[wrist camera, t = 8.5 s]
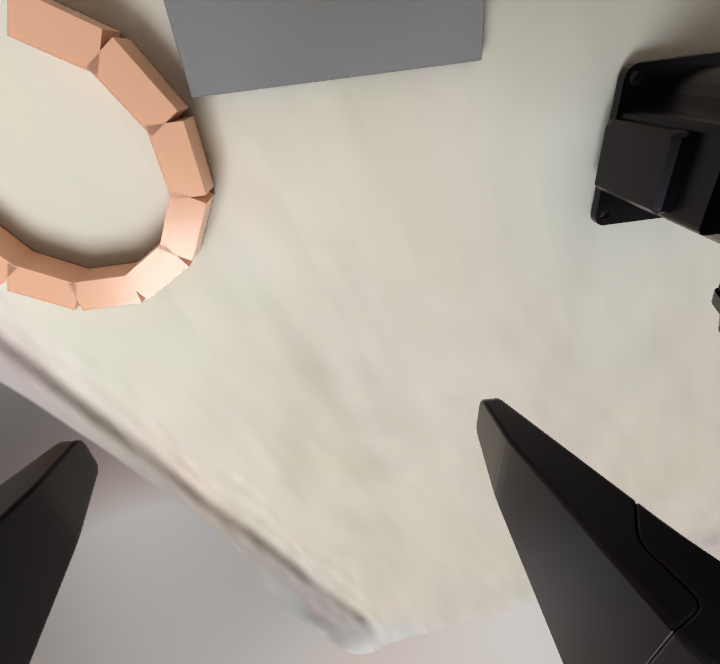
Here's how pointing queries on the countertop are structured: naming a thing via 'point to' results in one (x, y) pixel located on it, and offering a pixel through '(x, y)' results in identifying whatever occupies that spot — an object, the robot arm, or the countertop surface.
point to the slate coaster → (317, 39)
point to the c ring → (171, 146)
